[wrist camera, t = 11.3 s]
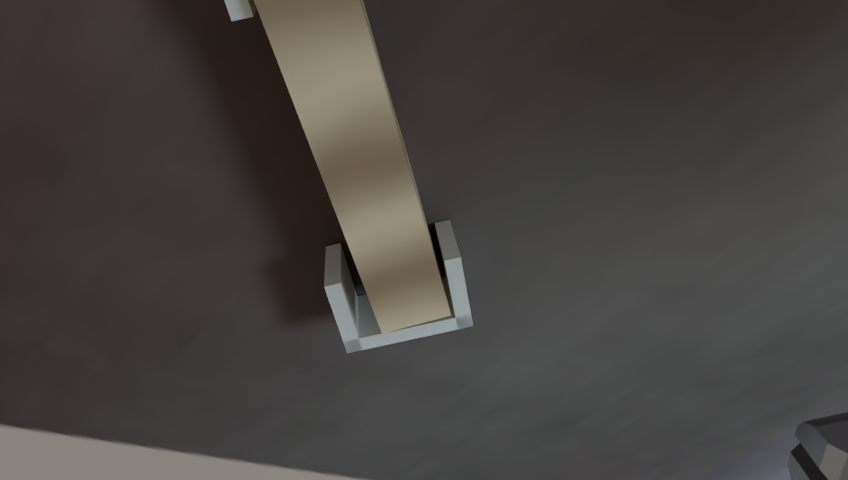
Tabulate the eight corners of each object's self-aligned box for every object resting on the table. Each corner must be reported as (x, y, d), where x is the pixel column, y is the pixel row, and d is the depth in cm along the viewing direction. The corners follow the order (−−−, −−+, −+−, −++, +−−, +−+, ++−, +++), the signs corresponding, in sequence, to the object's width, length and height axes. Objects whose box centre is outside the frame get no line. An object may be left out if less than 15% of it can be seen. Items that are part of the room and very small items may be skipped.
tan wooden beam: (247, -76, 23) (229, -64, 19) (333, -102, 23) (332, -94, 19) (377, 279, 33) (382, 333, 29) (438, 263, 33) (451, 315, 29)
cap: (325, 246, 31) (324, 286, 28) (449, 219, 31) (460, 257, 28) (346, 310, 33) (347, 353, 31) (461, 285, 33) (473, 326, 31)
